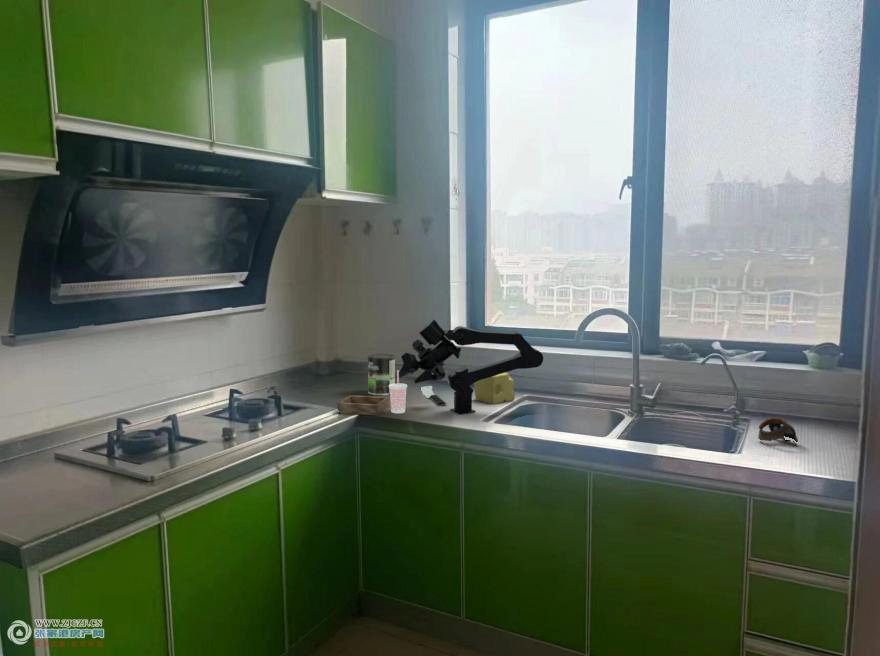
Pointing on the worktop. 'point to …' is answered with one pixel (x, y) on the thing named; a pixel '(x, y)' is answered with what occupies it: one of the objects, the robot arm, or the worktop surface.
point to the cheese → (495, 389)
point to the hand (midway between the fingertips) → (406, 380)
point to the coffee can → (380, 373)
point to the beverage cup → (398, 396)
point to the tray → (363, 405)
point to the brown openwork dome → (776, 430)
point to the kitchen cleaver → (432, 395)
